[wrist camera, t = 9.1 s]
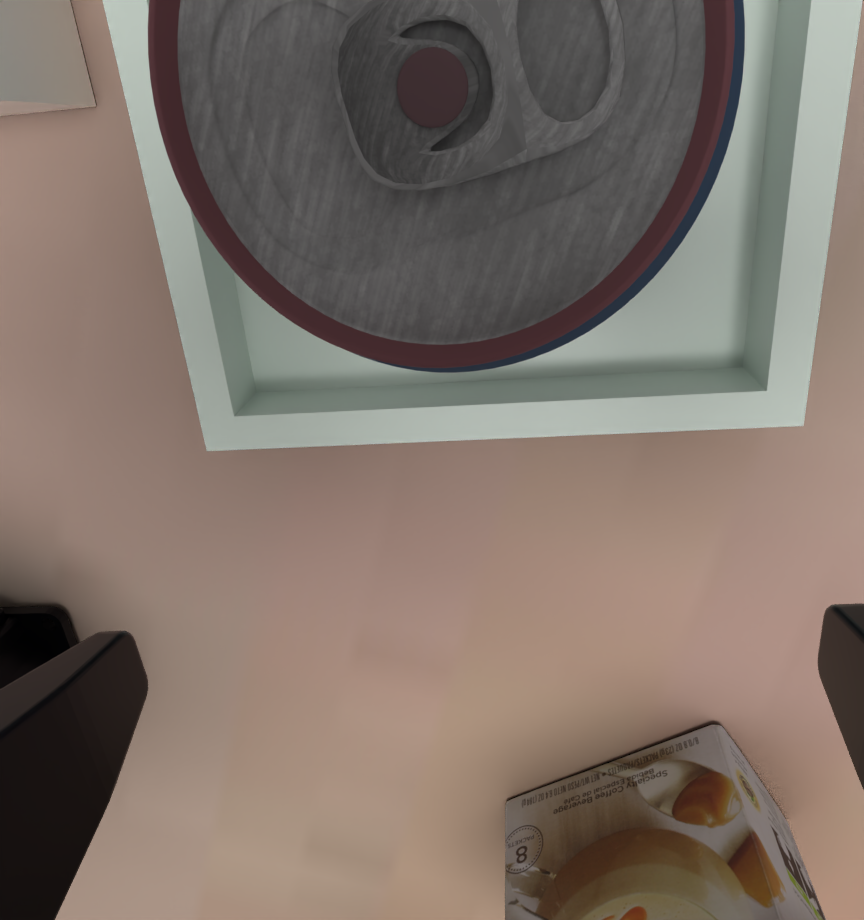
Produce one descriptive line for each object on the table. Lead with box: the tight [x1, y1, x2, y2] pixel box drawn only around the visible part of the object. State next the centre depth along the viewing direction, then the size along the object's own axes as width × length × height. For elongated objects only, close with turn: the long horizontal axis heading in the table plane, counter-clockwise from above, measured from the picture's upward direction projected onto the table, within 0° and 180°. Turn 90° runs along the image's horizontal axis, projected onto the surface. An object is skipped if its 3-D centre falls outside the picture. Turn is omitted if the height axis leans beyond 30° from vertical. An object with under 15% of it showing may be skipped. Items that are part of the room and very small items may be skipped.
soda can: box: [148, 0, 745, 373], centre depth 12 cm, size 7×7×12 cm
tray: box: [103, 0, 863, 451], centre depth 17 cm, size 16×16×2 cm
